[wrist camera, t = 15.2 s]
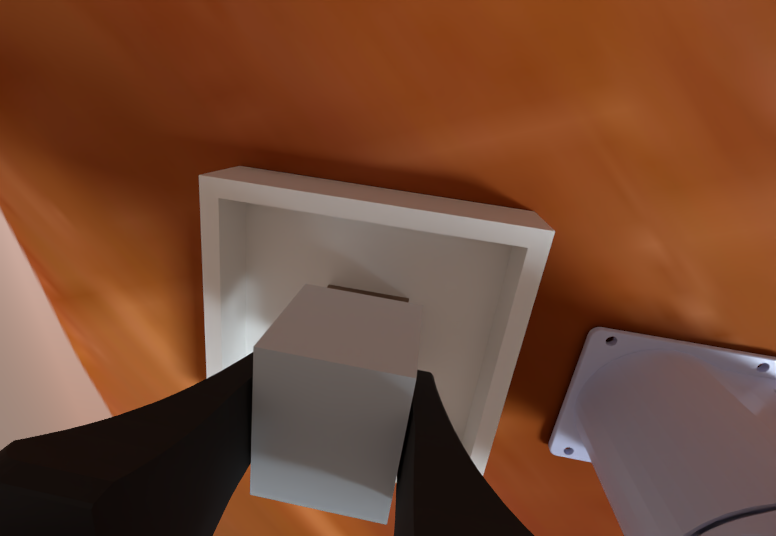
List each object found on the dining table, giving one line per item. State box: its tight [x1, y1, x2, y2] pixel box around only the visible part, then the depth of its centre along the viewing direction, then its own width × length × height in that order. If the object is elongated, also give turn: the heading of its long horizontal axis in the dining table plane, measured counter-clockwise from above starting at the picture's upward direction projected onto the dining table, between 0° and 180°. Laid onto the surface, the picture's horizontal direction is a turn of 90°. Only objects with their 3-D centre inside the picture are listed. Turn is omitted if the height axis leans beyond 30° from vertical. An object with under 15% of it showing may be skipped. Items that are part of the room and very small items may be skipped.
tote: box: [199, 166, 555, 483], centre depth 19 cm, size 14×14×4 cm
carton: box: [250, 284, 423, 525], centre depth 12 cm, size 4×5×4 cm
